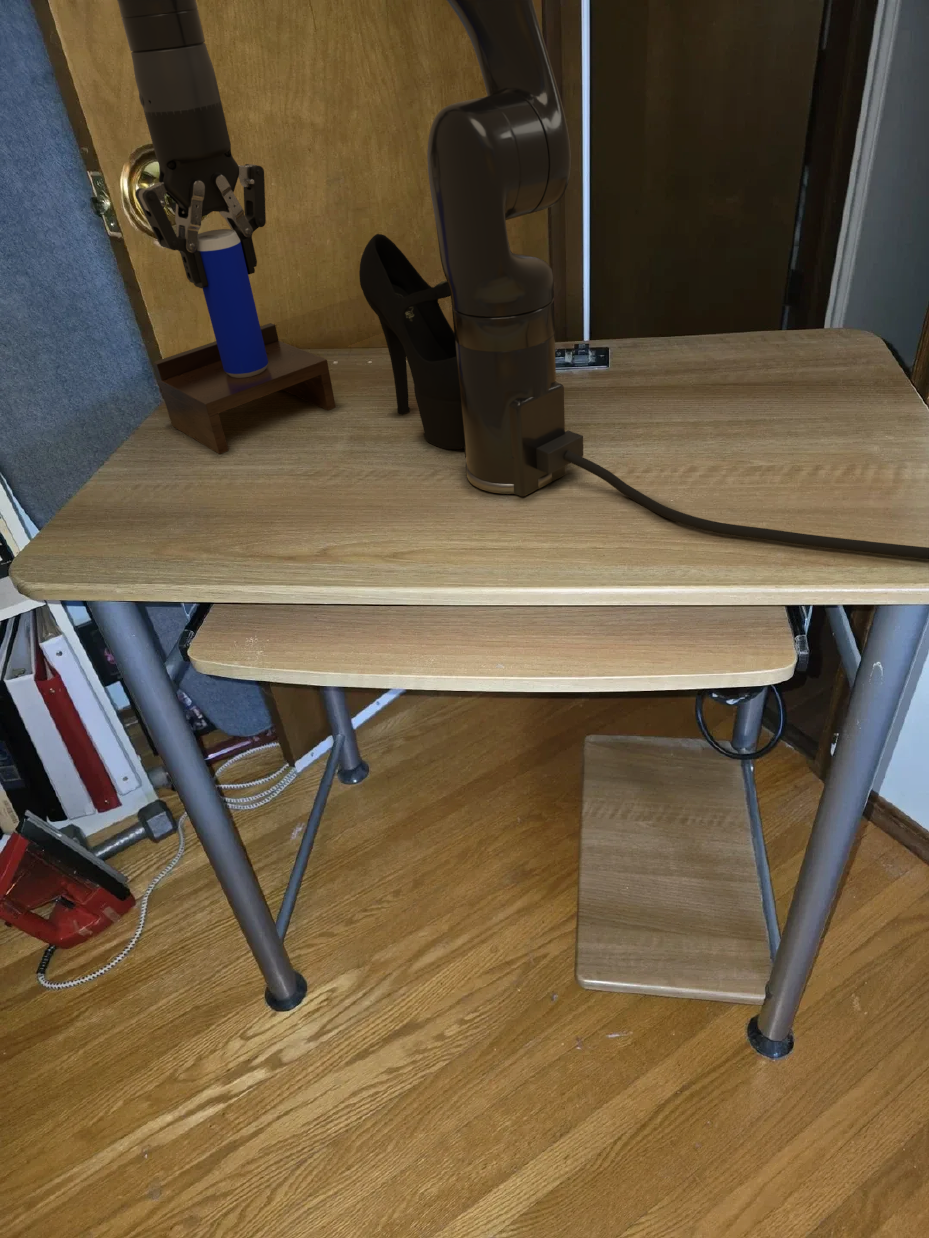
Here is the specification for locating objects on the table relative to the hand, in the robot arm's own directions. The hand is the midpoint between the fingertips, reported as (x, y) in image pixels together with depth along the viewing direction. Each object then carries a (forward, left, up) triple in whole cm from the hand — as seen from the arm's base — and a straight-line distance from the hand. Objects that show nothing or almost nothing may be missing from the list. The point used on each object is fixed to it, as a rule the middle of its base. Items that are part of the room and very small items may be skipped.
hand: (225, 279), depth 97 cm
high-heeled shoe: (-20, -12, -17) cm, 29 cm away
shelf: (+1, 0, -16) cm, 16 cm away
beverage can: (0, 0, -11) cm, 11 cm away
